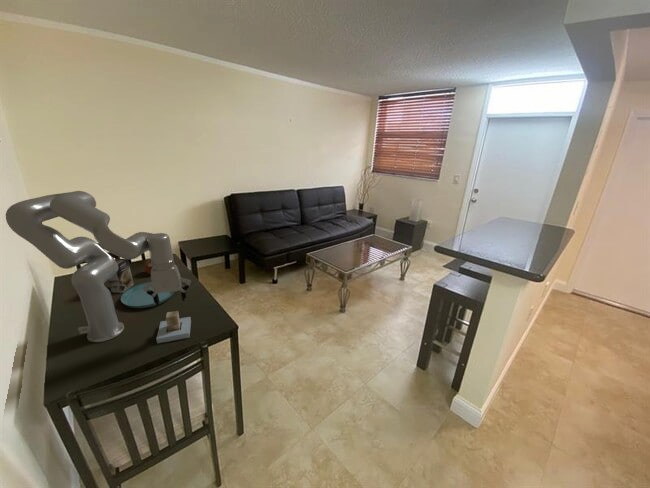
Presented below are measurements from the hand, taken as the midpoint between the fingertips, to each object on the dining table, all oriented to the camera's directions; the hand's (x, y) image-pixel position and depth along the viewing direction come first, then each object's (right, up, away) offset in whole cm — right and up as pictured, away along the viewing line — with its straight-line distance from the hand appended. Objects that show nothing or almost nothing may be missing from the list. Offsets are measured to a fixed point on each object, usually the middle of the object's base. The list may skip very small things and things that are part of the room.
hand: (171, 301), depth 117 cm
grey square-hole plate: (-1, -14, +5) cm, 15 cm away
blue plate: (-27, -4, +30) cm, 41 cm away
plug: (-1, -14, +5) cm, 15 cm away
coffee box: (-46, -1, +37) cm, 59 cm away
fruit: (-40, +6, +55) cm, 68 cm away
